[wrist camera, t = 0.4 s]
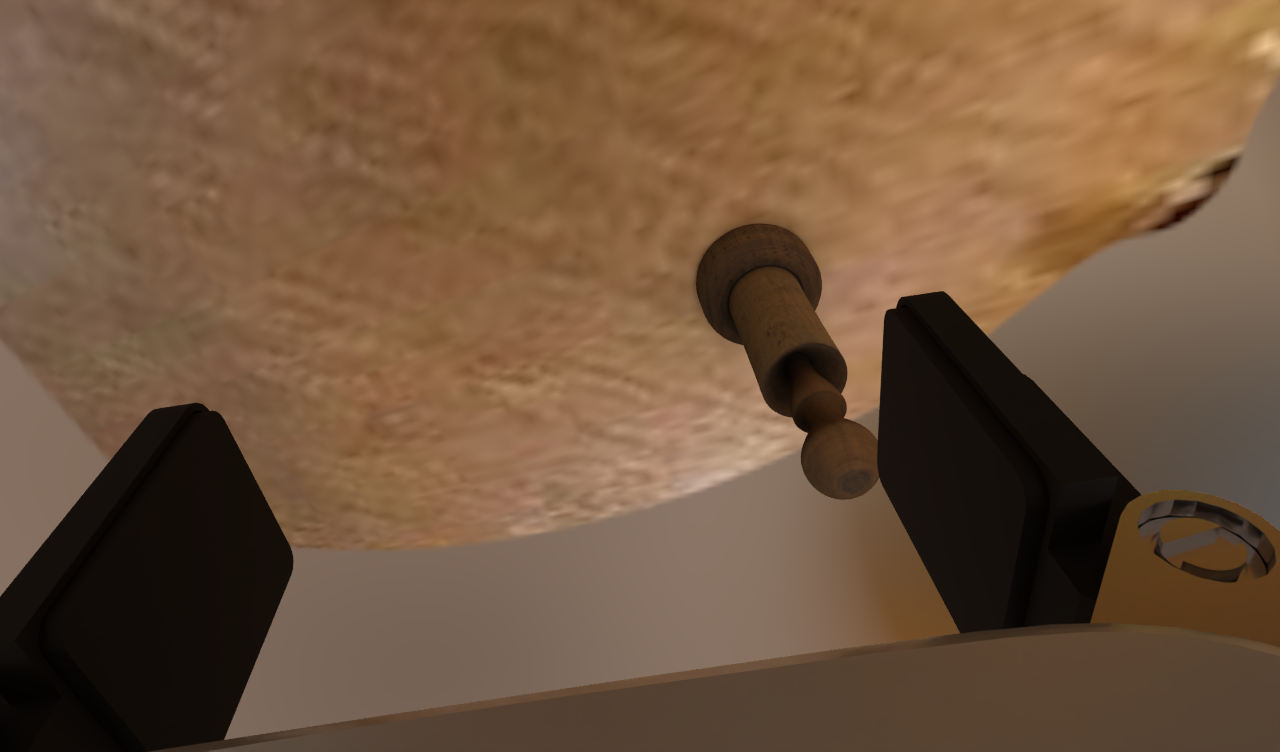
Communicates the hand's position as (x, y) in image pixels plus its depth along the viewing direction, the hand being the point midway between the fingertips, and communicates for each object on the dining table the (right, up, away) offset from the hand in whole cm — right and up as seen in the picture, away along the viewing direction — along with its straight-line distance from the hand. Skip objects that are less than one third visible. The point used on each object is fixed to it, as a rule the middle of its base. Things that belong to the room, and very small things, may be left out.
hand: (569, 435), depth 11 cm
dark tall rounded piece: (+7, +6, +33) cm, 34 cm away
